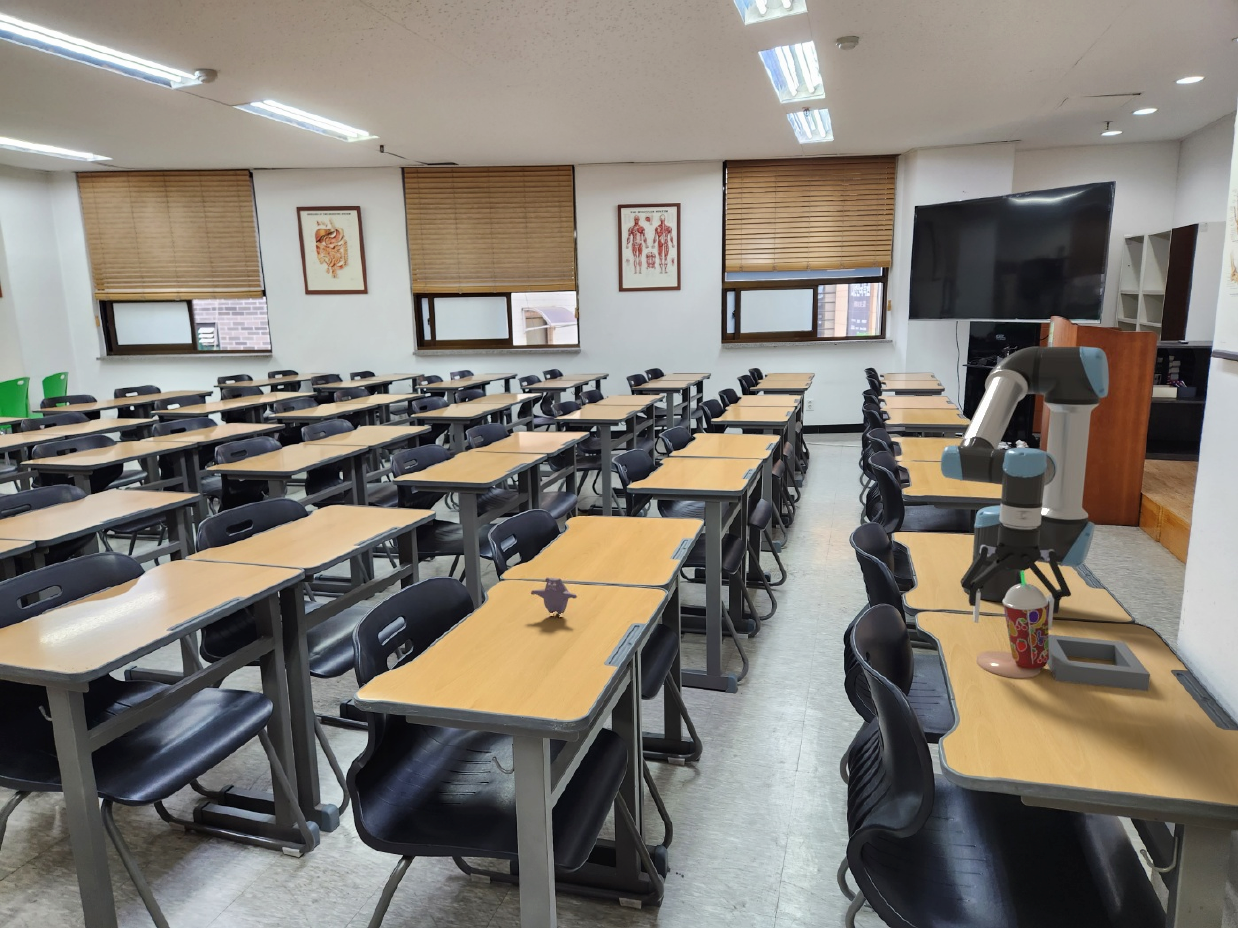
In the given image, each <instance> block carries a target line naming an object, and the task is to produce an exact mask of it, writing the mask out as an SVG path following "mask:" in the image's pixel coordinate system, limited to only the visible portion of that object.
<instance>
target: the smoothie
mask: <svg viewBox="0 0 1238 928" xmlns="http://www.w3.org/2000/svg"><path fill="white" fill-rule="evenodd" d="M1025 576H1026V575H1025V571H1021V581H1022V583H1021V584H1017V585H1014V586H1013V587H1011V588H1010V589H1009V590H1008V591H1007V593H1006V596H1005V598H1004V599H1003V601H1002V602H1001V603H1002V605H1003V610H1004V616H1005V622H1006V623H1005V624H1006V627H1007V633H1008V640H1009V644H1010V645H1009V646H1010V651H1011V652H1010V653H1012V658H1013V659H1014V660H1015V662H1016V664H1017V665H1018V666H1020V667H1023V668H1028V669H1038V668H1040V669H1041V668H1044V667H1046V665H1048V664H1047V661H1048V660H1049V635H1050V634H1049V630H1048V599H1047V596H1045V594H1044V593H1043V591H1041V589H1040V588H1039V587H1037V586H1035V585H1034V584H1032V583H1031V584H1030V583H1026V577H1025Z"/></svg>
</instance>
